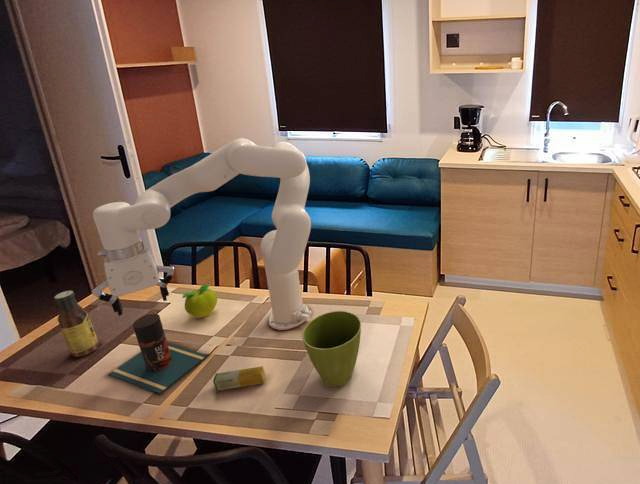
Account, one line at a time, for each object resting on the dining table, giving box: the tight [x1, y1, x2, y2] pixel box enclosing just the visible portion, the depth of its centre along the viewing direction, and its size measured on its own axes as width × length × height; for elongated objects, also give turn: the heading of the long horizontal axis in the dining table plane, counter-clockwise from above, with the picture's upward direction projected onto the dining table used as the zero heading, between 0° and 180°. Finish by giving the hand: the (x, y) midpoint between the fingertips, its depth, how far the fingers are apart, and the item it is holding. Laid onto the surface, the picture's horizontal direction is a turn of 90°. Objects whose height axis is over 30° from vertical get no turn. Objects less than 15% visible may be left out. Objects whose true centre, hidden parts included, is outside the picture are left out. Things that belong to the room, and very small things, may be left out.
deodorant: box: [132, 313, 172, 372], centre depth 109 cm, size 6×6×15 cm
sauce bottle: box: [53, 290, 99, 358], centre depth 113 cm, size 7×6×20 cm
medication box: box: [212, 366, 266, 392], centre depth 104 cm, size 12×3×4 cm, turn 101°
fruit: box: [181, 283, 218, 318], centre depth 131 cm, size 9×9×10 cm
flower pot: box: [301, 310, 362, 388], centre depth 105 cm, size 15×15×16 cm
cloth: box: [108, 342, 208, 395], centre depth 111 cm, size 20×14×1 cm
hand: (143, 305), depth 105 cm, fingers open, 9 cm apart
